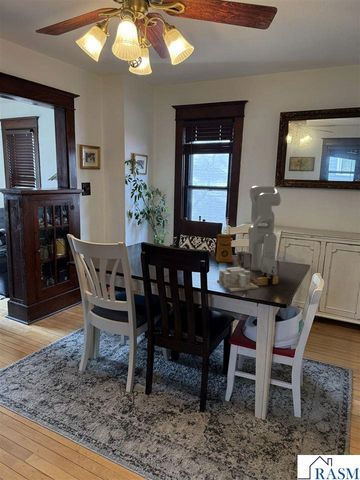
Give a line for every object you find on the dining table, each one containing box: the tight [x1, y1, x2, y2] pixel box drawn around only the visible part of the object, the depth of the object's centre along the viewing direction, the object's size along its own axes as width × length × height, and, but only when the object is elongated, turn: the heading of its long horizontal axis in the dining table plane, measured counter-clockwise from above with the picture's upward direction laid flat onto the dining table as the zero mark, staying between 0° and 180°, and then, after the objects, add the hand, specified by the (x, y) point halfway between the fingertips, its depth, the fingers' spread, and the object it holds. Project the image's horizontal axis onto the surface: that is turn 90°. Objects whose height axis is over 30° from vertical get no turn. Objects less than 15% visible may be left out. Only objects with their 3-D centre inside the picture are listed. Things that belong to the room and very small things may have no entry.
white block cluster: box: [216, 266, 259, 292], centre depth 201 cm, size 19×18×9 cm
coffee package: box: [215, 233, 233, 263], centre depth 257 cm, size 10×12×22 cm
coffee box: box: [235, 251, 252, 278], centre depth 219 cm, size 9×6×16 cm
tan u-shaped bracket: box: [250, 275, 279, 286], centre depth 209 cm, size 12×14×4 cm
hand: (267, 282), depth 204 cm, fingers open, 4 cm apart
